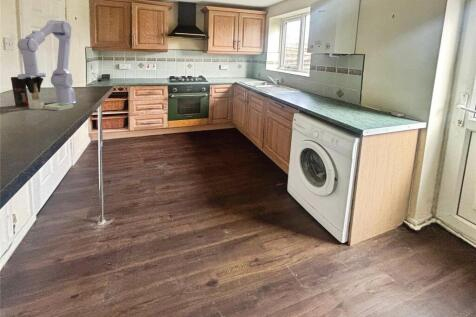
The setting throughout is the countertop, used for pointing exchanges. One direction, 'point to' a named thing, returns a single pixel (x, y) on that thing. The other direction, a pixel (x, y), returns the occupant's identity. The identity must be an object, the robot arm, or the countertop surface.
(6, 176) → the countertop surface
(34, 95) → the dowel
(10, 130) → the countertop surface
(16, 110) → the countertop surface
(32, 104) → the white octagonal bowl
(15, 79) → the deodorant
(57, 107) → the tray
